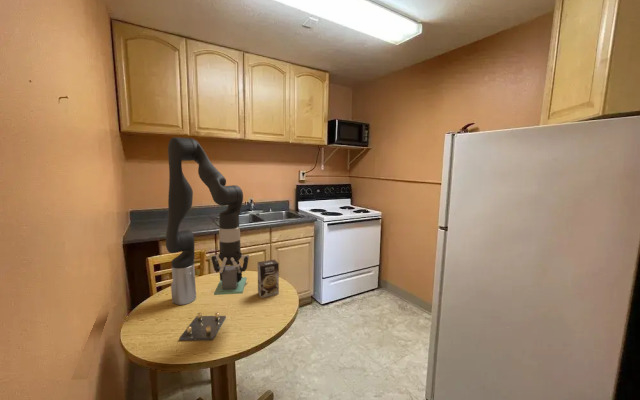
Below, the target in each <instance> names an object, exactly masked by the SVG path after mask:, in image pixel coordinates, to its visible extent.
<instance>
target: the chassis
mask: <svg viewBox="0 0 640 400" xmlns="http://www.w3.org/2000/svg"><path fill="white" fill-rule="evenodd" d="M226 318H227V316H226V315H220V312H215V314H214V315H203V313H202V312H198V313H197V315H196V316H195V318H193V320H192V321H191V323H190V324H189V325H188V326H187V327H186V329H185V330H184V331H183V333H182V334H181V335H180V337H179V341H214V339H215V338H216V335H217V334H218V332H219V330H220V329H221V327H222V325H223V324H224V322H225V320H226Z"/></svg>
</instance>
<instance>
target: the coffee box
mask: <svg viewBox="0 0 640 400" xmlns="http://www.w3.org/2000/svg"><path fill="white" fill-rule="evenodd" d="M279 269H280V268H279V262H278V261H277V260H276V259H268V260H264V261H257V294H258V295H259V298H261V299H264V298H269V297H273V296H277V295H279V294H280V287H279V286H280V282H279V281H280V279H279V275H280V273H279V272H280V271H279Z"/></svg>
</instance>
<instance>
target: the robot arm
mask: <svg viewBox="0 0 640 400" xmlns="http://www.w3.org/2000/svg"><path fill="white" fill-rule="evenodd" d="M167 154H168V156H167V157H168V172H169V175H168V177H169V178H168V179H169V181H168V182H169V183H168V184H169V185H168V197H167V198H168V200H167V201H168V203H167V204H168V206H167V207H168V211H167V212H168V214H167V215H168V217H167V227H166V231H165V232H166V233H165V247H166V250H167V252H168V253H169V254H177V253H180V252H181V253H180V254H179V255H178V256H176V257H174V258H173V259H172V260H171V271H172V272H171V274H172V275H171V276H172V282H171V283H170V289H171V301H172V302H171V303H172V304H175V305H178V306H179V305H180V306H181V305H184V306H185V305H187V304H190V303H193V302H194V301H196V299H197V290H196V289H197V288H196V272H195V271H196V270H195V259H196V258H195V236H194V233H193V232H192V230H190V229H183V230H179V229H180V226H181V223H182V221H183V220H184V219H185V217H186V216H187V214H188V213H189V211H190V210H191V209H192V206H193V199H194V196H193V194H194V192H193V188H192V185H191V184H190V183H189V181H188V180H187V178H186V177H185V175H184V172H183V167H182V166H183V164H182V161H183V162H184V161H185V162H186V161H187V162H188V161H189V162H190V161H193V162H195V163H197V164H198V168H197V169H198V170H197V173H198V176H199V179H200V180H201V181H202V183H204V185H205V186H206V187H207V188H208V189H209V192H210V195H211V197H212V201H213V202H214V203H215V204H216V205H218V206H221V207H224V206H227V209H224V210H223V211H221V212H220V213H219V215H218V222H219V223H218V224H219V227H218V229H219V231H218V240H219V241H218V243H219V254H213V255H212V256H211V257H210V259H211V263H212V266H213V269H214V270H213V271H214V272H217V273H219V280H222V273H223V271H224V269H225V267H226V266H230V265H234V267H235V268H236V270H237V272H238V273H237V282H240V281H241V279H242V277H243V272H244V273H245V272H246V270H247V268H248V264H249V260H250V255H249V254H243V253H242V251H241V250H242V249H241V247H242V246H241V230H240V213H241V209H242V206H243V202H244V192H243V190H242V189H241V187H240V186H238V185H227V179H226V177H225V176H224V175H223V174H222V173H221V172H220V171H219V169H217V168H216V166H215V165H214V164H213V163H212V162H211V160H210V159H209V156H208V155H207V153H206V152H205V150H204V149H203V147H202V146H201V144H200V143H199V142H198V140H196V138H195V139H194V138H190V137H176V136H175V137H171V138H169V142H168V145H167ZM219 259H220V260H221V262H222V263H221V265H220V261H219ZM240 259H242V263H243V264H242V265H241V261H240Z"/></svg>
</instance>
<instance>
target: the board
mask: <svg viewBox="0 0 640 400" xmlns="http://www.w3.org/2000/svg"><path fill="white" fill-rule="evenodd" d="M237 273H238V272H237V270H236V268H235V267H234V266H230V265H226V267H225V269H224V271H223V273H222V280H220V279H219V280H220V281H218V284H217V287H216V288H215V290H214V292H213V296H220V295H222V296H223V295H236V294H237V295H238V294H239V295H241V294H243V293H244V291H245V287H246V285H245V283H247V278H248V277H247V276H246V277H244V276H242V279H241V281H240V282H237Z"/></svg>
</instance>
